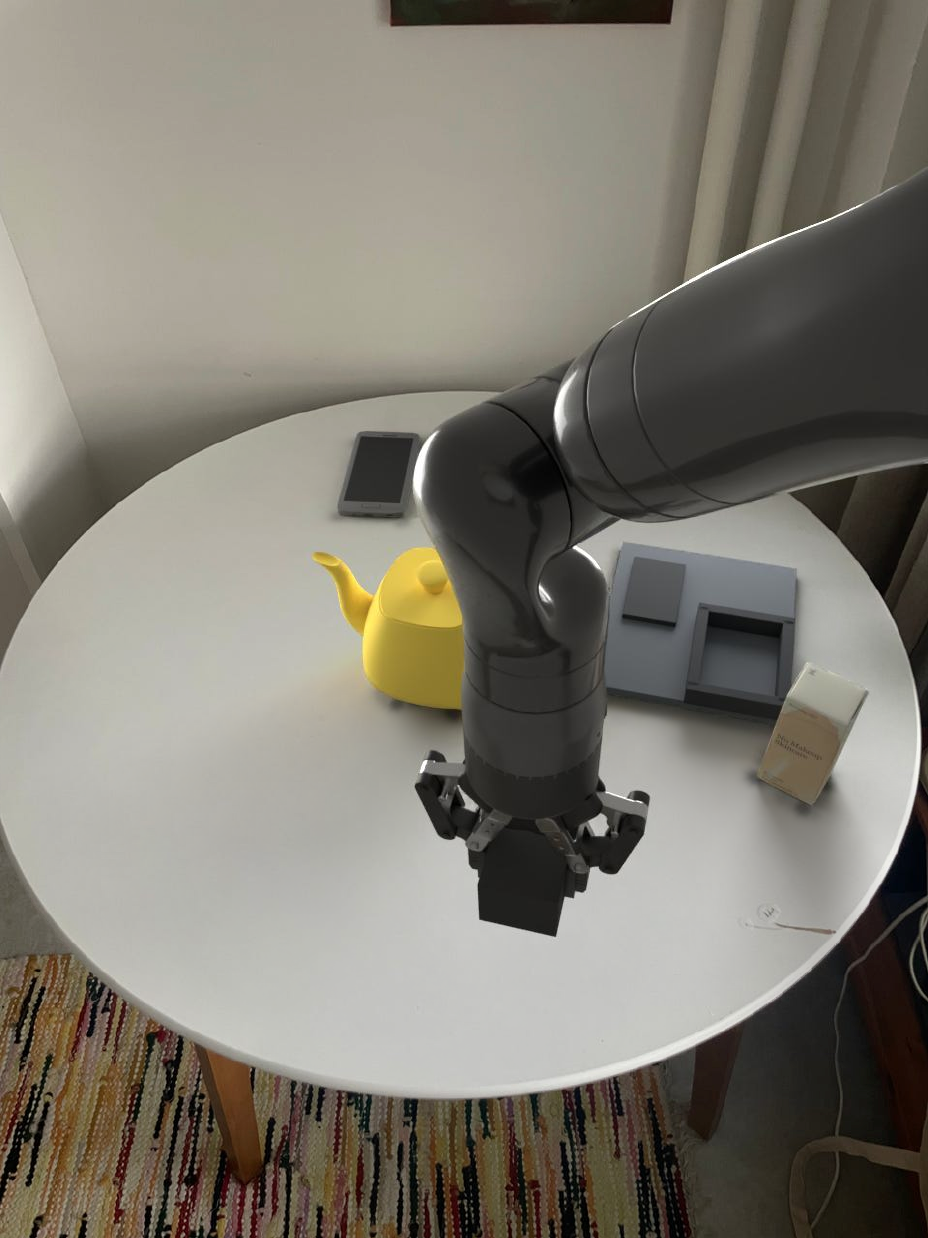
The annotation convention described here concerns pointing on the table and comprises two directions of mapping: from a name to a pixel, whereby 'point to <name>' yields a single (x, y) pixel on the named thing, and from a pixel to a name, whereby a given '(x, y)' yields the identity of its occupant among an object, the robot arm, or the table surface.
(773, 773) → the box
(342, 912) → the table surface
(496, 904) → the black block
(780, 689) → the base pad
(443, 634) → the teapot
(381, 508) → the cell phone
